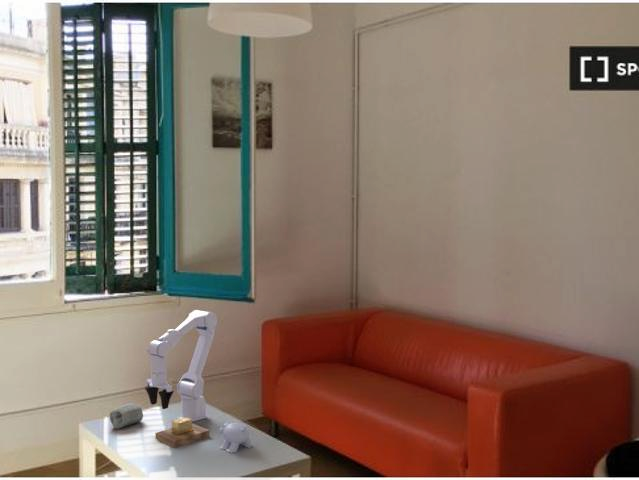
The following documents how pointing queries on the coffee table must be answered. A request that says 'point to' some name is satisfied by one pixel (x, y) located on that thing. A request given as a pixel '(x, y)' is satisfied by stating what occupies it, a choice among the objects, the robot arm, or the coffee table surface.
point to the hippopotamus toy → (235, 436)
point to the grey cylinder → (126, 415)
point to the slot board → (182, 436)
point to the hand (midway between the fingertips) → (159, 406)
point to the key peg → (182, 426)
